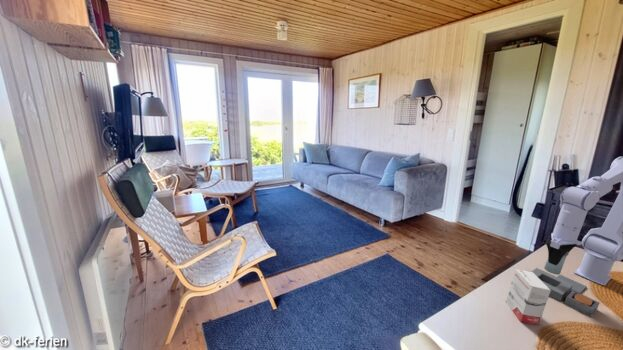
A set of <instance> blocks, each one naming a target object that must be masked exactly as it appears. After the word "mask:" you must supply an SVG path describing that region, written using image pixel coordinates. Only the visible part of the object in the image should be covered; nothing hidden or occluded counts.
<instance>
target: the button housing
mask: <svg viewBox="0 0 623 350" xmlns="http://www.w3.org/2000/svg"><path fill="white" fill-rule="evenodd" d="M575 294H581V293H578V292H576V291H574V290H573V291H572V290H571V291H570V292H569V293H568V294H567V295H566V296H565V297H566V298H565V300H564V305H567V306H569V307H571V308H572V309H574V310H576V311H578V312H581V313H583V314H584V315H586V316H588V317H590V318H591V317H592V316H593V315H594V313H595V312H596V311H597V309H598V308H599V306H600V302H599V301H597V300H595V299H592V298H590V297H588V296H587V297H588V298H590V299H591V300H592V301H593V302H592V304H591V307H589V306H587V305H585V304H583V303H581V302H579V301H577V300H575V299H574V296H575Z"/></svg>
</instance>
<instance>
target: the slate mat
mask: <svg viewBox="0 0 623 350" xmlns="http://www.w3.org/2000/svg"><path fill="white" fill-rule="evenodd" d="M557 277H558V278H560V279H562V280H565V281H567V282H569V283H571V284H573V287H572V289H571V292H572V291H573V290H574V291H576V292H578V293H580V294H582V292H583V291H585V289H586V288H587V285H584V284H582V283H580V282H578V281H576V280H574V279H572V278H569V277H566V276H565V275H563V274H559V275H558V276H557Z"/></svg>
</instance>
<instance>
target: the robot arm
mask: <svg viewBox="0 0 623 350" xmlns="http://www.w3.org/2000/svg"><path fill="white" fill-rule="evenodd" d="M618 183H621V185H622V187H621V189H620V192H619V193H618V195H617V197H616V199H615V201H614V203H613V205H612V207H610V211H609V213H608V214H607V216H606V218H605V221H604V222H603V224H602V225H601V227H596V228H591V229H590V230H588V232H587V233H586V234H585V235H584V236H583V238H582V240H581V241H580V240H578V237H579V236H580V233H581V230H582V227H583V225H584V223H585V219H586V216H587V214H588V212H589V211H590V210H592V209H593V208H594V207H595V206H596V204H597V203H598V202H599V201H600V198H602V197H603V196H605V195H607V194H609V193H610V192H611V191H612V190H613V187H614V186H613V185H616V184H618ZM559 200H560V204H559V208H560V211H559V213H558V216H557V218H556V219H557V220H556V223H555V225H554V228H553V231H552V232H551V234H550V235H551V236H550V237H551V240H546V242H545V245H546V248H547V253H548V255H547V259H548V262H549V263H551V264H553V265H558V263H559V262H560V261H561V259H562V257H563V256H564V255H565V254H566V253H567V252H569V253H570V252H571V251H572V250H573V249H574V248H575V247H577V246H581V245H582V247H583V248H584V249H583V251H584V252H585V253H584V255H583V258H582V261H581V262H580V266H579V267H578V268H577V269H576V270H574V271H573V273H574V274H576V275H578V276H580V277H582V278H585V279H587V280H589V281H592V282H594V283H596V284H599V285H601V286H603V285H604V286H606V285H607V283H608V282H609V281H610V280H611V279H612V276H610V273H611V271H612V269H613V266H614V264H615V262H621V261H622V260H623V156H618V157H616V158H615V159H613V161H612V162H611V165H610V167H609V170H607V171H606V172H604V173H603V174H602V175H600V176H598V175H597V176H593V177H590V178H588V179H587V180H585V181H584V182H582V183H580V184H578V185H576V186H569V187H566V188H564V189H563V191H562V192H561V194H560V195H559ZM604 286H603V287H604Z"/></svg>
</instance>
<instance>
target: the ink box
mask: <svg viewBox="0 0 623 350" xmlns="http://www.w3.org/2000/svg"><path fill="white" fill-rule="evenodd" d="M543 282H544V281H543ZM543 282H542V280H540V279H539V278H538V277H537V276H536V275H535V274H534V273H533V272H531V271H529V270H522V269H519V268H518V269H517V268H516V269H514V273H513V275H512V279H511V282H510V286H509V289H508V291H507V295H506V299H505V302H506V304H507V305H508V306H509V308H510V309H511V310H512V312H513V313H514V315H515V316H516V317H517V319H518V321H519V322H521V323H525V324H530V325H538V326H539V324H540V322H541V320H542V317H543V314H544V313H543V312H544V311H545V307H546V306H547V302H548V299H549V297H550V296H549V294H550V291H551V290H550V289H549V288H548V287H547V286H546V285H545V284H544V283H543Z"/></svg>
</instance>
